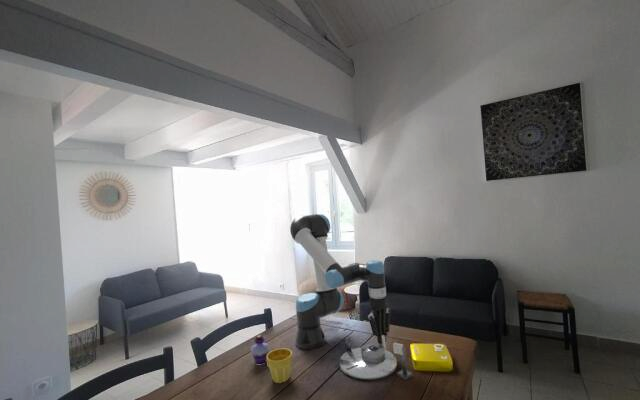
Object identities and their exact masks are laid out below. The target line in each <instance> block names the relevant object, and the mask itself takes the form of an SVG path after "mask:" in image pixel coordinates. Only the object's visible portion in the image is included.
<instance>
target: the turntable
mask: <svg viewBox="0 0 640 400" xmlns="http://www.w3.org/2000/svg"><path fill="white" fill-rule="evenodd" d="M344 342H345V343H344V344H345V352H344V353H342V355H341V356H340V358H339V361H338V362H339V368H340V370H341V371H342V372H343V373H344V374H345V375H347V376H349V377H351V378H354V379H358V380H359V379H360V380H366V381H367V380H378V379H382V378H385V377H389V376H390V375H392V374H393V373H394V372H396V369H397V367H398V361H397V357H395V358H394V353H392V352H391V351H389V350H387V349H386V351H385V358H386V359H385V361H384V362H382V363H379V364H369V363H366V362H364V361H363V360H362V353H361V347H362V346H361V347H356V348H352V346H351V345H352V344H351V337H350V336H345V337H344Z"/></svg>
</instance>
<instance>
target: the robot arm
mask: <svg viewBox="0 0 640 400" xmlns="http://www.w3.org/2000/svg"><path fill="white" fill-rule="evenodd" d="M289 228H290V236H291V237H292V239H293V240H294V242H295V243H297V244H299V245H300V246H301V247H302V248H303V249H304V250H305V252H306V253H308V255H309V256H310V257H311V258H312V260H313V261H312V262H313V265H314V272H315V276H316V277H315V278H316V283H317V288H316V289H315V292H308V293H304V294H301V295H300V296H298V297H297V298H296V301H295V310H296V320H297V321H296V322H297V332H296V335H295V347H296V348H298V347H299V349H301V350H314V349H318V348H320V347H322V346H323V345H325V343H326V335H325V333H324V331H323V329H322V326H321V325H322V324H321V319H322V318H324V317H327V316H330V315H332V314H333V315H334V314H336V313H337V312H340V310H341V309H342V308H343V306H344V301H345V299H344V296H343V293H342V292H341V290H339V288H341V287H343V286H346V285H349V284H352V283H356V282H359V281H362V282H367V285H368V287H367V288H368V296H369V306H370V313H369V314H367V315H366V318H367V319H368V322H369V324H370V327H371V333H372V335H373V336H374V337H376V338H377V343H378V344H381V345H383V346H384V348H385V351H386V350H387V344H386V342H387V337H386V336H388V335H389V334H388V333H389V332H390V324H391V313H392V309H391V308H388V298H387V297H388V296H387V287H386V279H385V274H386V273H385V267H384V263H383V261H381V260H378V259H376V260H373V259H372V260H368V261H366V264H365V263H359V262H351V263H349V264H348V265H347V266H344V267H343V266H341V265H340V264H339V262H338V261H336V259H335V258H334V257H333V256H332V255H331V254H330V253H329V251H328V247H327V239H328V235H329V233H330V231H331V223H330V220H329V218H328V217H327V216H326V215H325V214H322V213H320V214H318V213H317V214H316V213H315V214H307V215H299V216H297V217H295V218H294V219H293V220H292V222H291V223H290V227H289Z"/></svg>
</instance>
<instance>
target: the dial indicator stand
mask: <svg viewBox="0 0 640 400" xmlns="http://www.w3.org/2000/svg"><path fill="white" fill-rule="evenodd" d="M392 347H393V348H392V350H393V355H394V358H395V357H396V354H397V355H400V357H401V359H400V360H401V367H402V369H401V370H400V371H397V376H398V377H400V378H402V379H403V380H405V381H406V380H408V379H409V378H411V377H413V376H414V375H413V372H412V371H409V370H408V369H407V359H406V348H405V346H404V344H403V343H398V342H393V343H392ZM396 358H397V357H396Z"/></svg>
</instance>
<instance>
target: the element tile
mask: <svg viewBox="0 0 640 400" xmlns="http://www.w3.org/2000/svg"><path fill="white" fill-rule="evenodd" d="M409 347H410V355H411V362H412V367H413V370H415V371H420V372H421V371H424V372H452V371H453V370H454V366H453V358H452V356H451V354H450V352H449V349H448V347H447V345H445V344H444V343H411V344H410V346H409ZM451 370H452V371H451Z"/></svg>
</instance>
